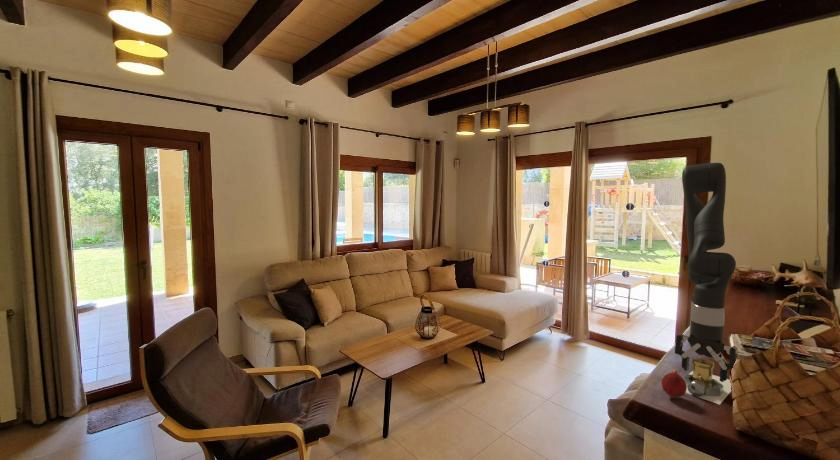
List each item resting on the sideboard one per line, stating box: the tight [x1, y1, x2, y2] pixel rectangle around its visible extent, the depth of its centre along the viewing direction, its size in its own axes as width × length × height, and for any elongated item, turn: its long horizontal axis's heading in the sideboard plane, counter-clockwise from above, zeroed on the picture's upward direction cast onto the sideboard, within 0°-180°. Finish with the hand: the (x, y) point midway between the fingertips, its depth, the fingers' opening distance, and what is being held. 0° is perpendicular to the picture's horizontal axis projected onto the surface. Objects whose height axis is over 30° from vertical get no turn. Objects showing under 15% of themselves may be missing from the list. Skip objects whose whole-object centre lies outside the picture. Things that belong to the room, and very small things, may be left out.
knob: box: [691, 357, 715, 387], centre depth 106 cm, size 5×5×8 cm
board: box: [682, 370, 733, 408], centre depth 108 cm, size 20×11×1 cm, turn 128°
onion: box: [661, 369, 687, 399], centre depth 103 cm, size 6×6×8 cm
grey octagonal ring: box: [683, 373, 723, 398], centre depth 105 cm, size 11×9×4 cm
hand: (703, 375), depth 106 cm, fingers open, 8 cm apart
